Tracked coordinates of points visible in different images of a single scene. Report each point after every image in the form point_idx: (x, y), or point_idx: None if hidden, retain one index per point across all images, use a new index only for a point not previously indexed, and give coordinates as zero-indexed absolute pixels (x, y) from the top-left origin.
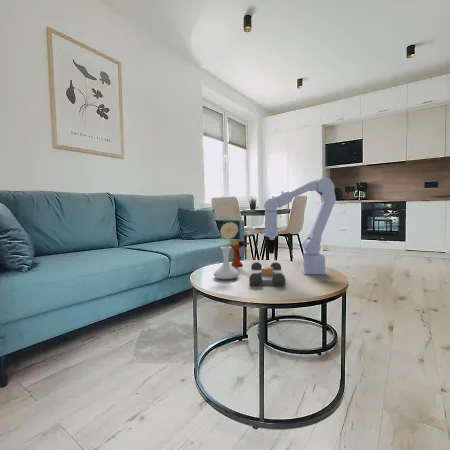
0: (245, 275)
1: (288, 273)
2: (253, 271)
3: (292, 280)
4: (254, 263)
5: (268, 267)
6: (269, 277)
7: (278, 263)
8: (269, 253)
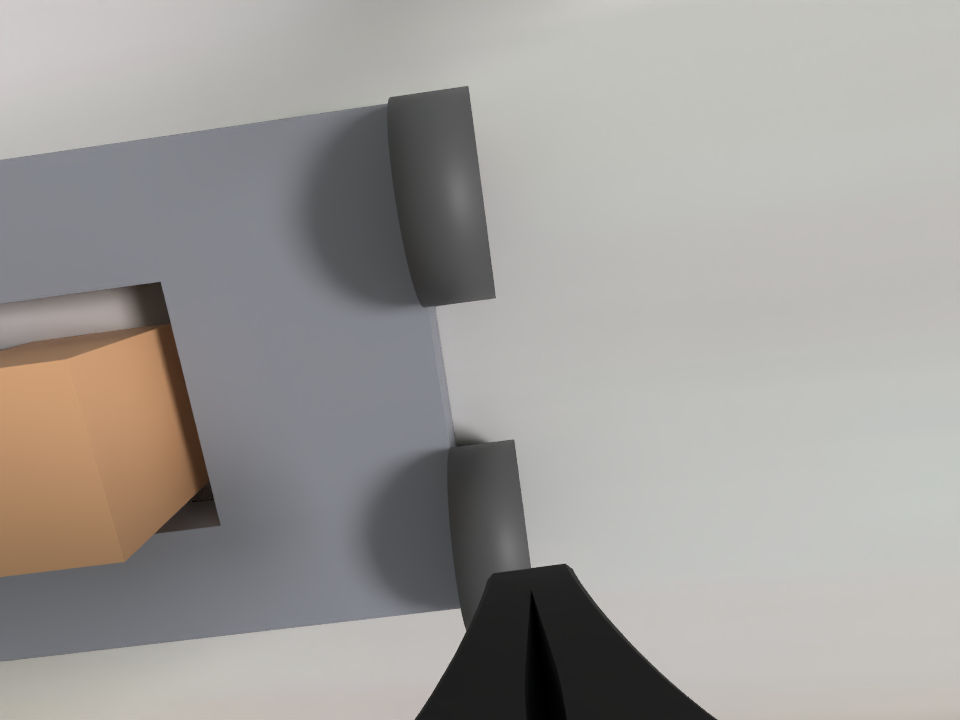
0: (233, 40)
1: None
2: (207, 180)
3: (135, 706)
4: (393, 159)
5: (21, 496)
6: None
7: None
8: (491, 577)
